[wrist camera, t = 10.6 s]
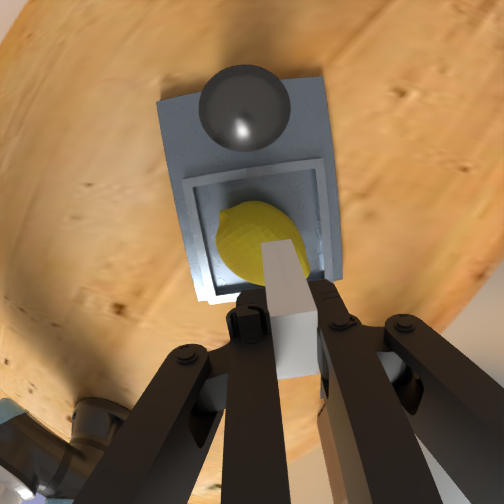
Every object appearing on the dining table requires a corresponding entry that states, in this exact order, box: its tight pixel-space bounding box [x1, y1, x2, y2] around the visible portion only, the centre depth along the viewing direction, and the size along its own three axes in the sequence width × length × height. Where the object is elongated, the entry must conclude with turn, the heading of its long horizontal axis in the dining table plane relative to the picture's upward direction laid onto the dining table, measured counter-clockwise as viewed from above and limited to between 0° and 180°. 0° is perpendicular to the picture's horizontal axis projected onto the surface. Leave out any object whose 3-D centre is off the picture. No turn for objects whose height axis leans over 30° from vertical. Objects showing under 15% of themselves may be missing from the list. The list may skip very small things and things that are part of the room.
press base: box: [156, 76, 343, 304], centre depth 31 cm, size 18×24×10 cm
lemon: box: [215, 201, 310, 286], centre depth 32 cm, size 11×8×8 cm
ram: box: [198, 65, 291, 152], centre depth 21 cm, size 5×5×10 cm
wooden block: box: [317, 405, 348, 504], centre depth 39 cm, size 10×10×20 cm
